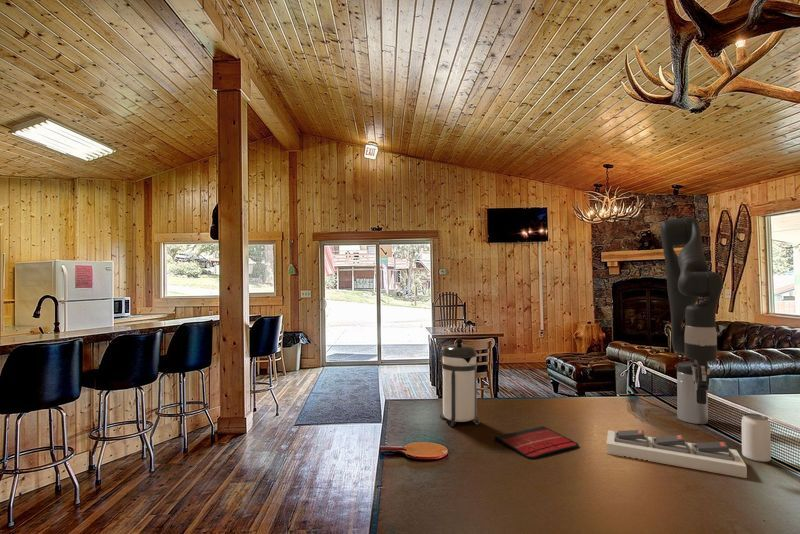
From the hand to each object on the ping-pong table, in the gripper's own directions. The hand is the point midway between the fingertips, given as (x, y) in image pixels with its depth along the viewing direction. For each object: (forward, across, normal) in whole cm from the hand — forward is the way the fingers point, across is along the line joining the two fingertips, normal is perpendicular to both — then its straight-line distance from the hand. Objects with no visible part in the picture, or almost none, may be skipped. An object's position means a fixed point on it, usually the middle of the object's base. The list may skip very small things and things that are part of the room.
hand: (701, 403), depth 122 cm
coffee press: (+17, -1, -74) cm, 75 cm away
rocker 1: (+12, 0, -18) cm, 21 cm away
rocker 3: (+12, 0, +2) cm, 12 cm away
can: (+17, -11, +14) cm, 25 cm away
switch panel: (+17, 0, -8) cm, 18 cm away
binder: (+17, +8, -44) cm, 48 cm away
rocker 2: (+12, 0, -8) cm, 14 cm away
